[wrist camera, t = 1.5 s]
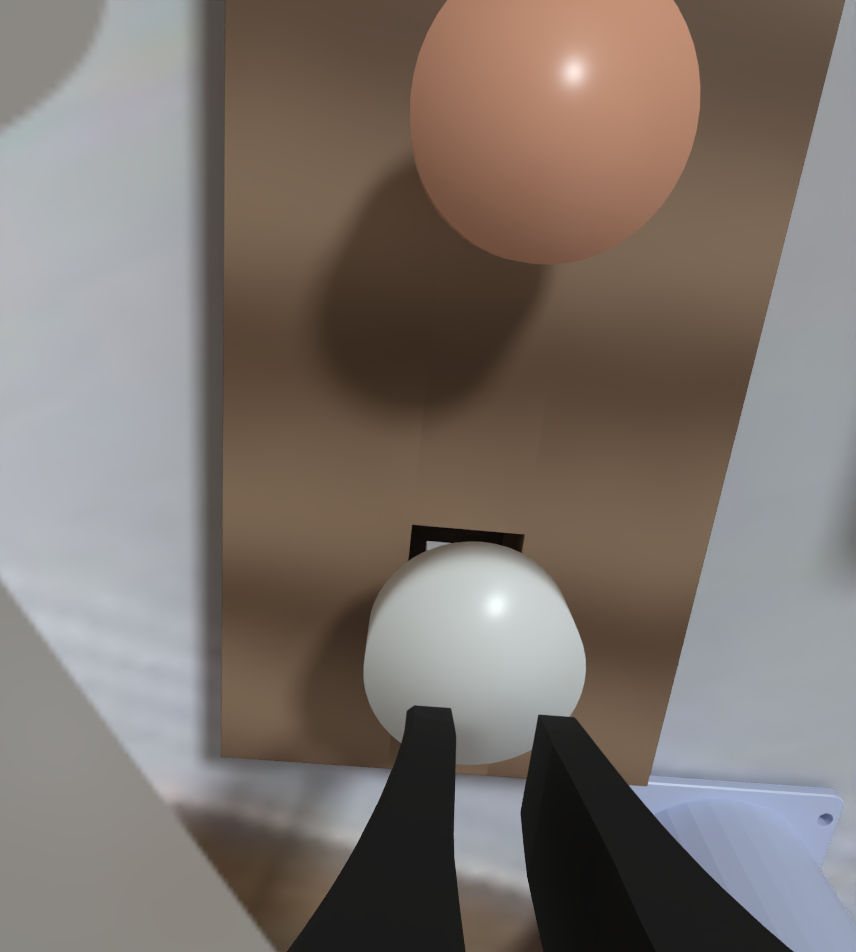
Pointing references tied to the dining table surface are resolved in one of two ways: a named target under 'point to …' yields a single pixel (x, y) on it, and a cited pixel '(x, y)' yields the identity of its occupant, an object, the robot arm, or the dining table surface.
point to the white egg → (474, 647)
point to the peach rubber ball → (553, 121)
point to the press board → (477, 369)
